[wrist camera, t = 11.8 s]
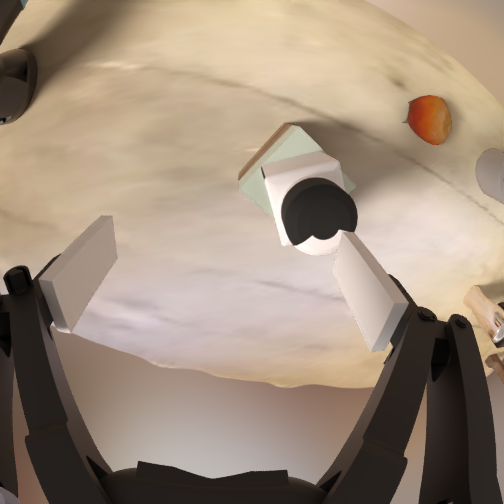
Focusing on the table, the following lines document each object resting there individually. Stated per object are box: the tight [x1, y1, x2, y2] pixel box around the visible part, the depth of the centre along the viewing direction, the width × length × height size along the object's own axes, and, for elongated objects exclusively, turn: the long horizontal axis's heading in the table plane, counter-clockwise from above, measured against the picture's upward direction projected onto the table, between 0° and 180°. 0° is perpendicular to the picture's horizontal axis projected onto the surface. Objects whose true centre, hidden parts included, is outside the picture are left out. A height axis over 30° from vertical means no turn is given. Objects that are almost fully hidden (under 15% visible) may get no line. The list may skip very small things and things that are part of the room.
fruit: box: [402, 95, 452, 145], centre depth 33 cm, size 8×8×8 cm
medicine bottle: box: [261, 151, 358, 255], centre depth 26 cm, size 7×7×12 cm
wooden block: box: [485, 354, 504, 384], centre depth 64 cm, size 7×3×15 cm, turn 79°
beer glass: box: [463, 286, 504, 343], centre depth 47 cm, size 7×7×15 cm
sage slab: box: [239, 125, 357, 220], centre depth 34 cm, size 10×10×5 cm
